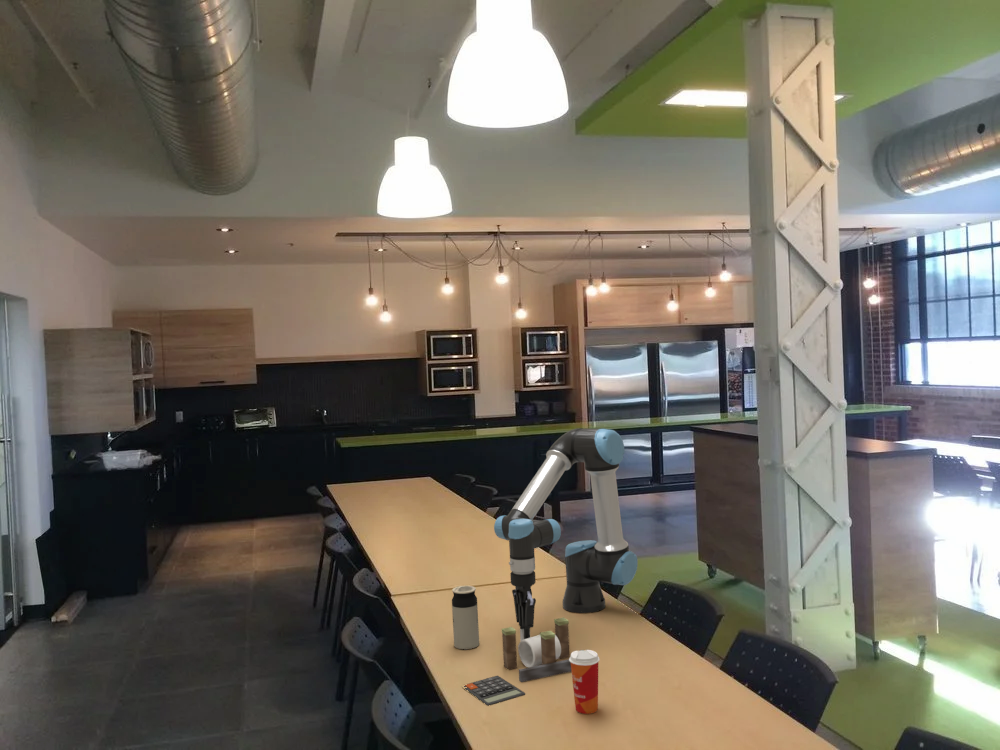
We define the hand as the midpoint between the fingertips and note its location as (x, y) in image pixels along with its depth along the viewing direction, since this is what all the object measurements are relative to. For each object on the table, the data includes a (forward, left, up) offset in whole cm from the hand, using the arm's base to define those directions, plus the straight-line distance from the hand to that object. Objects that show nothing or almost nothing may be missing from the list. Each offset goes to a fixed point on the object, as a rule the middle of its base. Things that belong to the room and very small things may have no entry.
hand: (525, 648), depth 241 cm
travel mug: (+14, -16, -2) cm, 21 cm away
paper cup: (+2, +42, -2) cm, 42 cm away
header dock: (0, +12, -2) cm, 12 cm away
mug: (0, +7, -2) cm, 7 cm away
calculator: (+19, +20, -2) cm, 28 cm away
